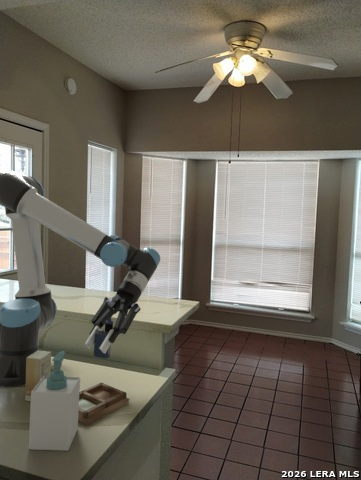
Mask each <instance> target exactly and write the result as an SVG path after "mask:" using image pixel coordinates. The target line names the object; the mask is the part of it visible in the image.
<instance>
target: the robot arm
mask: <svg viewBox="0 0 361 480" xmlns="http://www.w3.org/2000/svg"><path fill="white" fill-rule="evenodd" d="M43 187H44V186H43V185H42V183H41V182H40V181H39V180H38V179H36V178H34V177H33V176H31V175H28V174H23V173H21V172H17V171H14V170H6V171H2V172H0V206H2V207H4V208H5V209H4V210H5V217H7V218H8V219H10V220H11V228H12V236H13V237H12V238H13V244H14V246H13V247H14V255H15V262H16V272H17V273H16V274H17V281H18V290H17V292H16V293H15V294H14V298H15V299H13V300H12V299H11V300H8V301H6V302H4V303H3V304H2V305H1V306H0V387H5V388H9V387H11V388H12V387H13V388H14V387H21V386H26V358H27V357H28V356H30V355H31V354H33V353H34V352H36V351H37V350H39V347H40V346H39V344H40V343H39V342H40V341H39V340H40V333H41V332H42V331H43V330H45V329H46V328H48V327H49V326H50V325H52V323H53V321H54V320H55V318H56V315H57V311H58V308H57V303H56V302H55V299H53V298H52V290H51V289H50V288H49V287H47V285H46V278H45V276H46V275H45V270H44V260H43V259H44V258H43V257H44V256H43V250H42V248H43V247H42V241H41V231H40V225H42V226H44V227H46V228H48V230H51V231H53V232H54V233H56V234H58V235H59V236H61V237H63V238H64V239H65V240H67V241H70V242H71V243H72V244H75V245H76V246H78V247H80V248H82V249H83V250H85V251H86V252H88V253H90V254H92V255H93V256H95V257H96V258H97V259H99V260H101V262H102V263H103V264H104V265H105V266H107V267H110V268H115V267H119V266H124V267H126V268H127V269H129V271H128V272H127V274H126V276H125V277H124V279H123V281H122V282H121V283H120V284H119V286H118V288H117V290H116V294H115V295H114V296H112V298H111V297H110V298H108V296H105V297H104V299H103V302H102V304H101V305H100V307H99V308H98V309H97V312H95V315H93V318H92V319H91V321H90V322H91V323H92V326H93V327H92V328H91V330H90V332H89V336H88V337H87V339H86V341H85V343H84V345H85V346H86V347H87V349H88V350H91V349H92V347H94V343H95V334H96V332H97V329H103V327H105V321H107V320H108V318H111V319H112V317H113V316H114V315H116V314H117V313H118V315H117V317H116V321H115V323H114V325H113V330H110V331H109V333H108V335H107V336H106V338H105V340H104V341H103V343H102V345H101V346H100V348H99V349H100V350H101V351H102V352H103V353H106V352H107V350H108V348H109V346H110V345H112V344H114V343H115V341H116V339H117V338H118V336H119V335H120V334H122V335H125V334H126V333H128V330H129V328H130V326H131V325H132V323H133V321H134V319H135V317H136V315H137V314H138V313H139V312H140V311H141V307H140V305H139V304H138V303H137V302H138V300H140V298H141V296H142V293H143V292H144V291H145V289H146V287H147V285H148V284H149V282H150V281H151V278H152V277H153V275H154V274H155V271H156V270H157V268H158V267H159V264H160V262H161V255H160V253H159V252H158V251H157V250H156V249H154V248H150V247H144V248H143V249H140V248H137V247H136V246H134V245H132V244H131V243H129V242H127V240H125V239H123V238H122V237H120V236H118V235H116V234H114V233H113V234H110V235H108V234H106V233H105V232H104V231H101V230H100V229H98V228H96V227H94V226H93V225H92V224H90V223H88V222H87V221H84V220H83V219H81V218H80V217H78V216H77V215H75V214H73V213H71V212H70V211H68V210H66V209H65V208H63V207H62V206H59V205H58V204H56V203H55V202H53V201H51V200H50V199H48V198H46V196H45V190H44V188H43Z"/></svg>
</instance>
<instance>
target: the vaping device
mask: <svg viewBox="0 0 361 480" xmlns="http://www.w3.org/2000/svg"><path fill="white" fill-rule="evenodd" d="M113 327H114V320H112V317H111V318H108V320H107V321H105V325H104V328H101V329H97V332H96V334H95V343H94V344H93V356H94V357H97V358H101V359H108V358H110V357H111V356H110V354H111V345H112V344H111V345H110V346H109V348H108V350H107V352H106V353H103V352H102V351H101V350H100V349H99V348H100V346H101V345H102V343H103V341H104V340H105V338H106V336H107V335H108V333H109V331H110V330H113ZM113 331H114V330H113Z"/></svg>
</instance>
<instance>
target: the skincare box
mask: <svg viewBox="0 0 361 480" xmlns="http://www.w3.org/2000/svg"><path fill="white" fill-rule="evenodd" d="M51 367H52V351H47V350H39V349H38V350H37V351H36V352H34V353H33V354H31V355H30V356H28V357H27V358H26V385H25V388H24V389H25V390H24V392H25V395H24V396H25V397H24V401H27V402H31V391H32V390H33V389H34V388H35V386H36V385H37V384H38V383H39V381H40V380H41V379H42V378H43V376H50V374H51V372H52V371H51V369H52V368H51Z"/></svg>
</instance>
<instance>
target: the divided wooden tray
mask: <svg viewBox="0 0 361 480" xmlns="http://www.w3.org/2000/svg"><path fill="white" fill-rule="evenodd" d="M129 403H130V398H128V397H127V392H126V391H123V390H121V389H119V388H116V387H113V386H110V385H109V384H106V383H104V382H100V383H97V384H95V385H93V386H90V387H87V388H86V389H85V388H84V390H80V391H79V411H78V422H81V423H83V424H85V425H87V426H89V425H91V424H92V423H94V422H96V421H98V420H100V419H102V418H103V416H104V417H105V416H107V415H109V414H111V413H112V412H114V410H115V411H116V410H119V409H120V408H122V407H123V406H126V405H128V404H129Z"/></svg>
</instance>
